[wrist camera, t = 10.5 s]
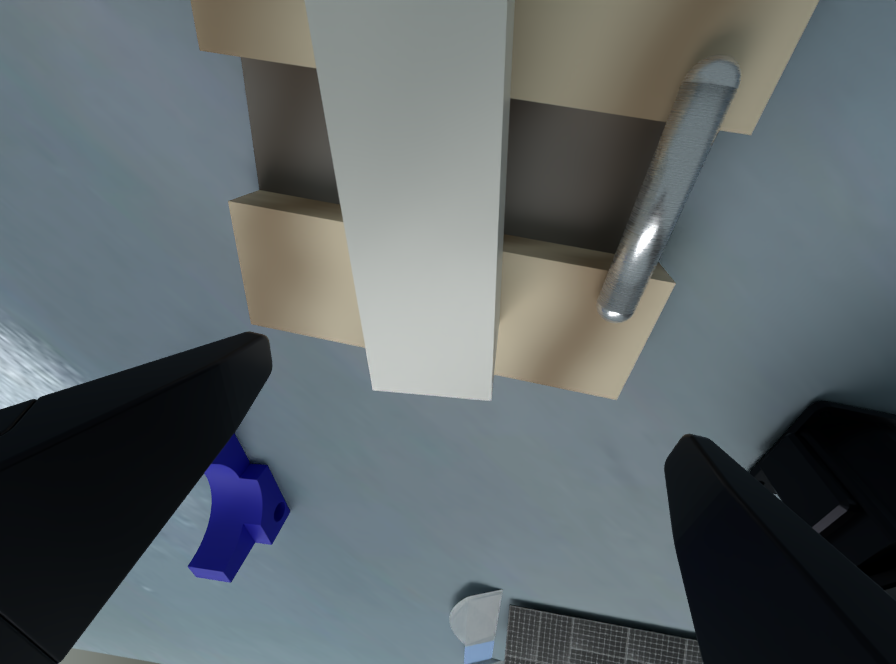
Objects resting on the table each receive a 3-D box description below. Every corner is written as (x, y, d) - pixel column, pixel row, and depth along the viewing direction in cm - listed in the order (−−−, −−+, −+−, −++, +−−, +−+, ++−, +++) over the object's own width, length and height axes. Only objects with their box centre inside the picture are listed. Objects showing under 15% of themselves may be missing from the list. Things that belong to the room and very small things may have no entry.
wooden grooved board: (828, -118, 10) (972, -220, 7) (606, 367, 19) (623, 421, 16) (213, -183, 12) (91, -293, 8) (278, 301, 21) (233, 339, 18)
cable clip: (291, 510, 33) (249, 585, 28) (245, 504, 33) (196, 577, 28) (240, 406, 26) (173, 478, 21) (185, 402, 27) (109, 472, 22)
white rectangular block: (518, -67, 10) (514, -184, 6) (499, 323, 16) (491, 400, 12) (374, -52, 11) (278, -149, 6) (410, 317, 17) (372, 390, 13)
